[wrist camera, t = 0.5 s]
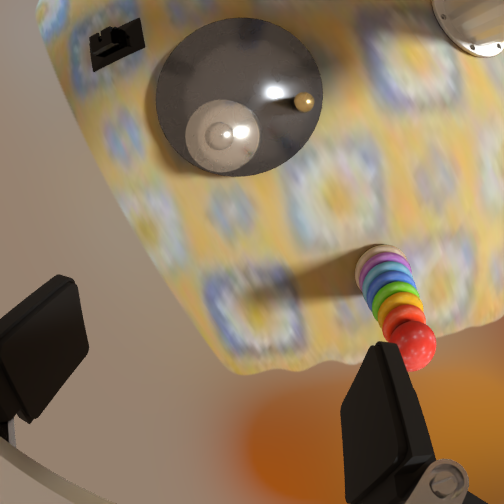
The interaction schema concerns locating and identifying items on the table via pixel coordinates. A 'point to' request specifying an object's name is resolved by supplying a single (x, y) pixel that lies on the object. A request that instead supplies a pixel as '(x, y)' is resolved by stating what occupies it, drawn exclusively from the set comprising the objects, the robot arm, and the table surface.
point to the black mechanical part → (115, 43)
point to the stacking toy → (396, 303)
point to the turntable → (243, 86)
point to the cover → (223, 135)
